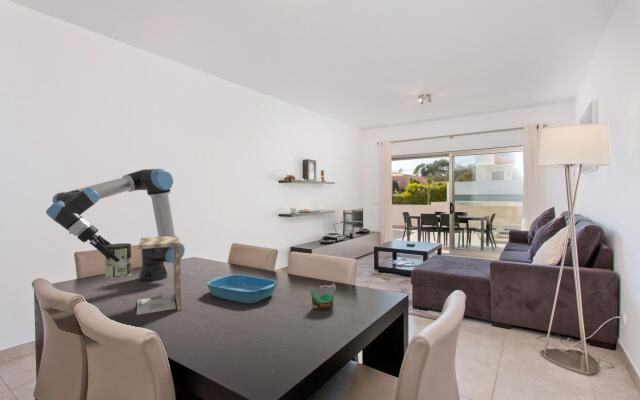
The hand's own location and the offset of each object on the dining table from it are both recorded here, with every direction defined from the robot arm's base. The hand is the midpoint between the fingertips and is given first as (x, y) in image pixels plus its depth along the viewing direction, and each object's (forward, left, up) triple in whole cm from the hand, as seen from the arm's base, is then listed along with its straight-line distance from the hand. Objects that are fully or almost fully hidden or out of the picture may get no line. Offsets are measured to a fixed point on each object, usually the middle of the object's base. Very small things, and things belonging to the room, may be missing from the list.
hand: (126, 263), depth 149 cm
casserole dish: (-42, +29, -19) cm, 55 cm away
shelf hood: (-10, +13, -19) cm, 25 cm away
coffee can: (+3, -1, -6) cm, 6 cm away
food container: (-56, +72, -19) cm, 94 cm away
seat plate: (-8, +12, -19) cm, 24 cm away
